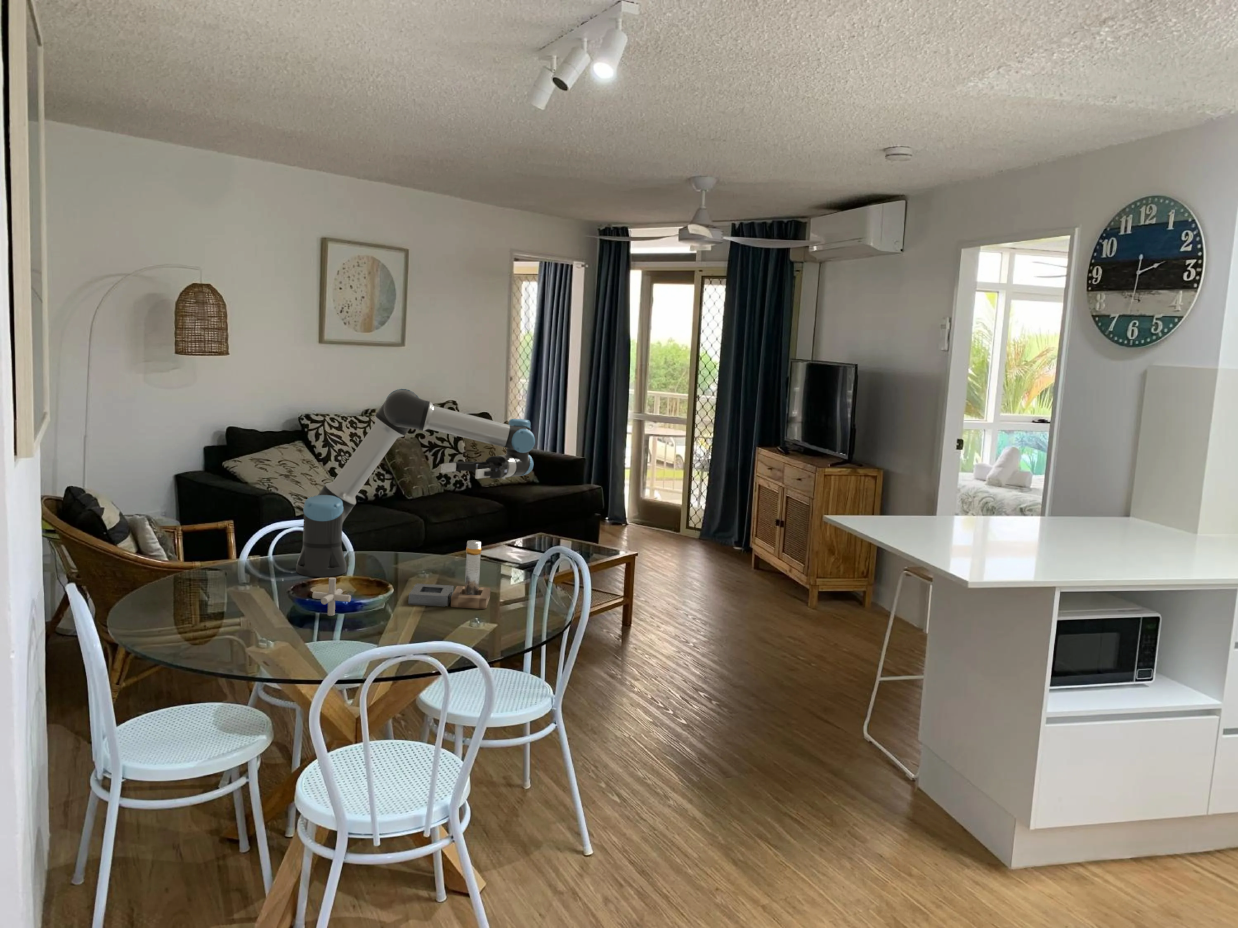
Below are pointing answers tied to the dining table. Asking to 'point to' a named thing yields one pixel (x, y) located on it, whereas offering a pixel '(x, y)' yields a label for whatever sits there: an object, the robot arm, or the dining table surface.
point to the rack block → (470, 598)
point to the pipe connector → (331, 596)
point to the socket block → (430, 595)
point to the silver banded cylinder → (472, 567)
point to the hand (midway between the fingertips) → (458, 471)
